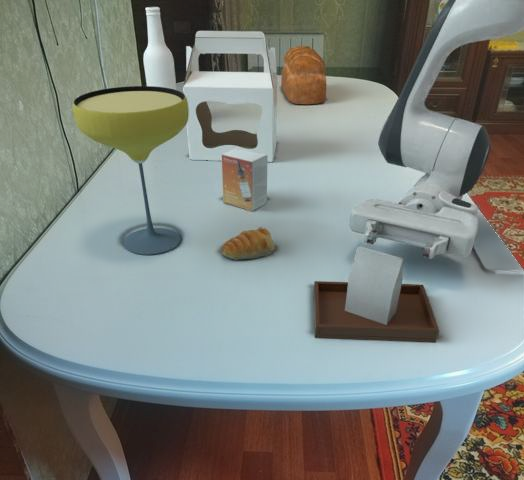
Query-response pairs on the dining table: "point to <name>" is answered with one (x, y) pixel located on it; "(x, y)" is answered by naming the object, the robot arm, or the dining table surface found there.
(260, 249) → the pastry
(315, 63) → the bread
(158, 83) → the alcohol
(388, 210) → the robot arm
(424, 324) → the tray
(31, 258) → the dining table surface
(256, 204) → the small box
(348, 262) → the dining table surface
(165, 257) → the dining table surface
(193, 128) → the gable box
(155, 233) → the cocktail glass
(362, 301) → the grey rectangular block
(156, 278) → the dining table surface
